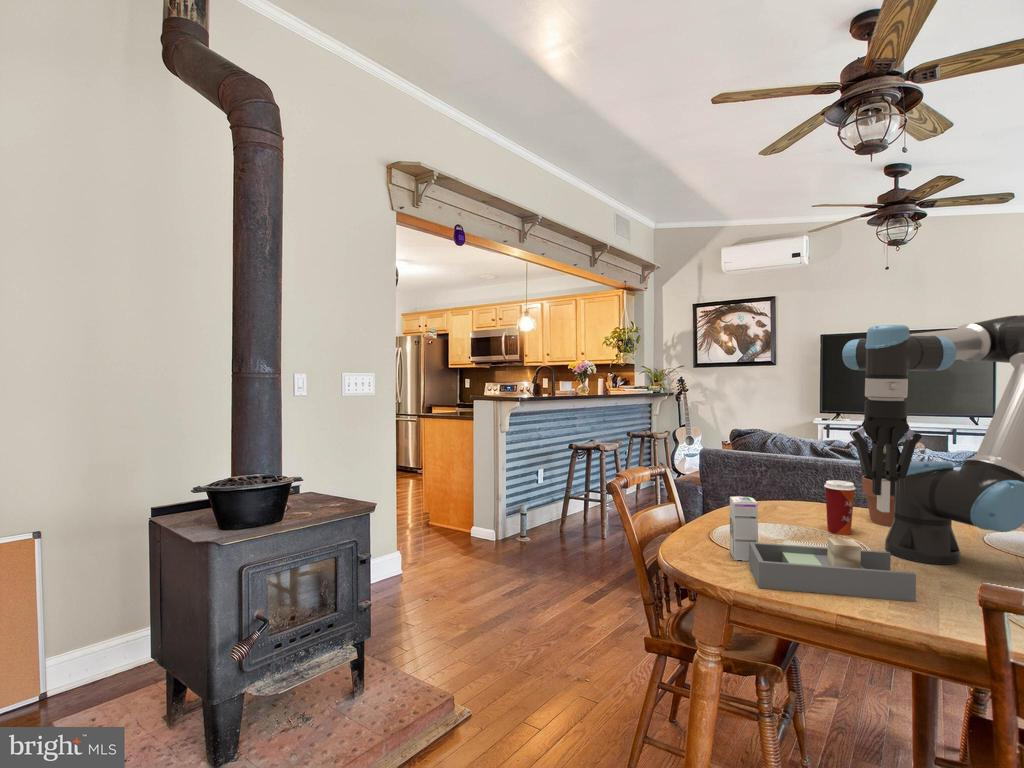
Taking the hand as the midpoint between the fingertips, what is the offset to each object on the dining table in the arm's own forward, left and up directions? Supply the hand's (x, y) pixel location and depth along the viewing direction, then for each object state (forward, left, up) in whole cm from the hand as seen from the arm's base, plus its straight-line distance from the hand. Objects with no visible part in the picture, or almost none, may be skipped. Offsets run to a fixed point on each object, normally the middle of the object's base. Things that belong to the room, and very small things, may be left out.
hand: (883, 510), depth 121 cm
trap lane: (+11, 0, -16) cm, 20 cm away
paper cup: (-3, -42, -17) cm, 45 cm away
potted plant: (-20, -56, -17) cm, 61 cm away
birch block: (+7, 0, -12) cm, 14 cm away
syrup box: (+26, -13, -17) cm, 33 cm away
